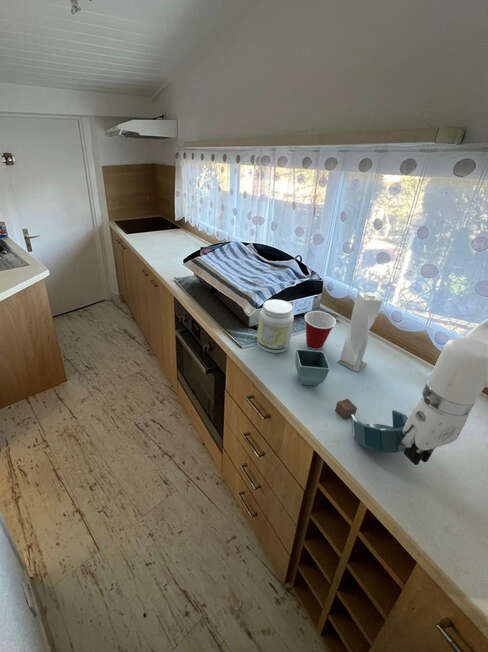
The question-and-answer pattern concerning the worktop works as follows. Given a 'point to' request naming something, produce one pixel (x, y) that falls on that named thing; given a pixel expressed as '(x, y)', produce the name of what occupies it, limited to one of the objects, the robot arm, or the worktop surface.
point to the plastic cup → (318, 328)
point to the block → (345, 409)
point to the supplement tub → (275, 326)
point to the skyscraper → (360, 329)
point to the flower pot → (311, 367)
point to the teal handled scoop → (382, 434)
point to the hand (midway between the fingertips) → (414, 457)
